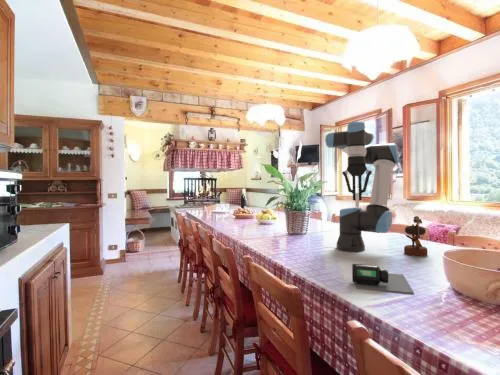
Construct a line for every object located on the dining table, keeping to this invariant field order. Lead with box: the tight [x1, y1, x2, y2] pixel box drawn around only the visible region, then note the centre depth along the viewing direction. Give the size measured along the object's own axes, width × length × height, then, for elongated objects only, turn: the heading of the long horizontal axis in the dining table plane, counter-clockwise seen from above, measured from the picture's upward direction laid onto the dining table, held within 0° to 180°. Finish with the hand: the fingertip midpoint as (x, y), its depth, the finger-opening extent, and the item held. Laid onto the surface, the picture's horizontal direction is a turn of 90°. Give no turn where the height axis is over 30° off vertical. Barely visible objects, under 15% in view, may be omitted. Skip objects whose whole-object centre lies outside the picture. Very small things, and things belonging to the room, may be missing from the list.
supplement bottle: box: [351, 263, 389, 285], centre depth 106 cm, size 7×7×12 cm
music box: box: [403, 215, 428, 258], centre depth 150 cm, size 15×11×20 cm
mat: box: [356, 272, 415, 295], centre depth 109 cm, size 18×20×1 cm
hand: (357, 207), depth 133 cm, fingers closed
